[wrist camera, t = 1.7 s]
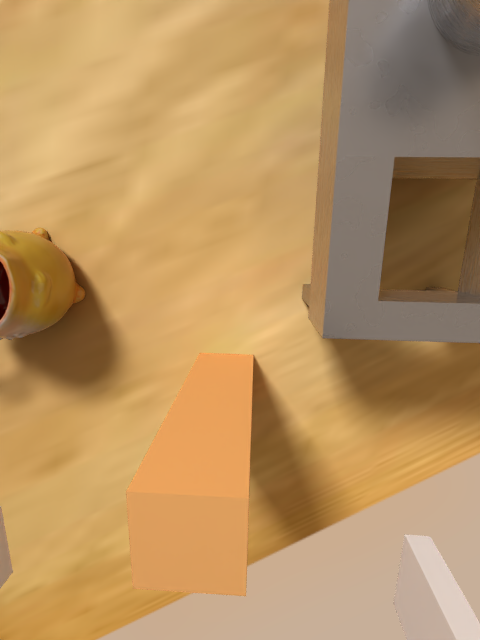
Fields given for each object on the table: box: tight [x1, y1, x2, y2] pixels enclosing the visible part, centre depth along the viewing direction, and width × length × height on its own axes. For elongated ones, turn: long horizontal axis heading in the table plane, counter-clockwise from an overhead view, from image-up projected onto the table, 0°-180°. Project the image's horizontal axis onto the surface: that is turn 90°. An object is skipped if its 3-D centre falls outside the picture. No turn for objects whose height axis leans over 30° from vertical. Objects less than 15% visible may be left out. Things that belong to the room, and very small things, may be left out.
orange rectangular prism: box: [126, 353, 253, 596], centre depth 18 cm, size 4×4×14 cm
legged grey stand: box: [302, 0, 480, 343], centre depth 13 cm, size 17×10×16 cm, turn 179°
